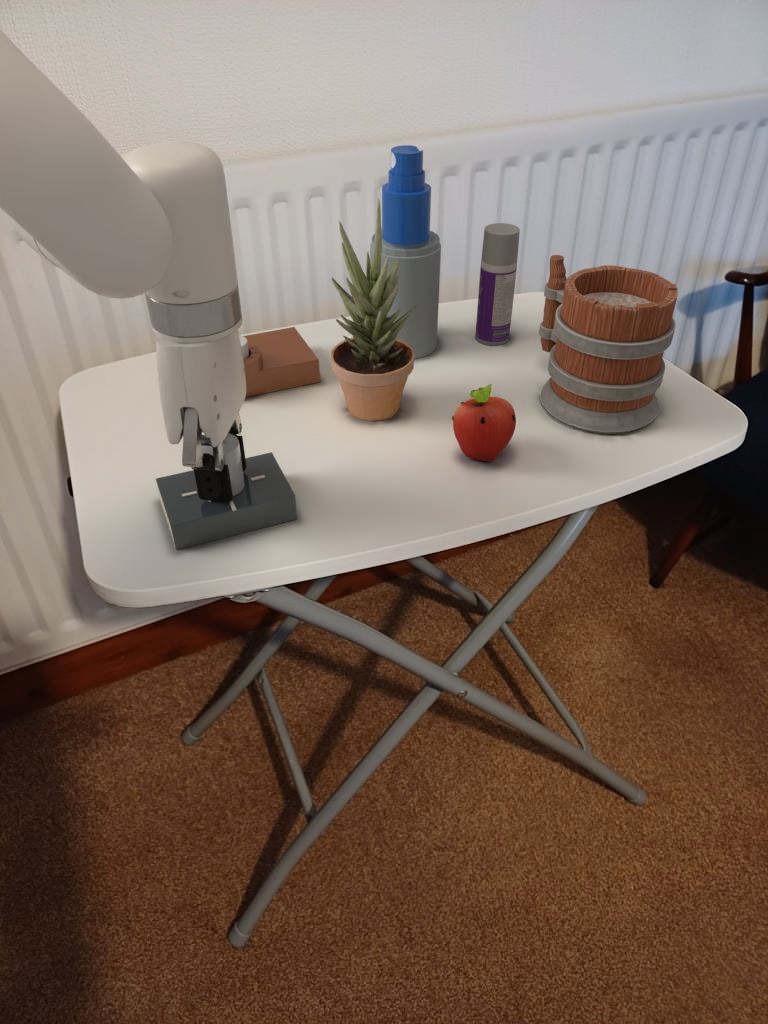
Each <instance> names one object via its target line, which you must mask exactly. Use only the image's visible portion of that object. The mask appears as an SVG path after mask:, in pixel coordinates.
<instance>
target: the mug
mask: <svg viewBox="0 0 768 1024" xmlns="http://www.w3.org/2000/svg"><path fill="white" fill-rule="evenodd" d="M564 260H565V256H563V255H561V254H553V255H551V256H550V258H549V276H548V281H547V282H546V283H545V284H544V289H543V296H544V297H545V299H544V307H543V317H542V318H543V319H542V321H541V322H540V323H539V328H538V336H539V337H540V345H541V350H542V351H543V352H546V353H549V359H548V365H547V371H548V375H549V376H550V377H549V378H548V379H547V381H546V382H545V383H544V385H543V386H542V388H541V390H540V393H539V398H540V402H541V404H542V406H543V408H544V409H545V410H546V411H547V412H548V413H549V414H550V415H551V416H552V417H553V418H554V419H556V420H558V421H559V422H560V423H562V424H565V425H567V426H568V427H571V428H575V429H578V430H579V431H584V432H589V433H594V434H595V433H596V434H607V435H608V434H609V435H610V434H613V435H614V434H624V433H625V434H626V433H630V432H634V431H636V430H639V429H641V428H644V427H645V426H647V425H649V424H650V423H652V422H653V421H654V420H655V419H656V418H657V416H658V415H659V412H660V402H659V400H658V397H657V394H656V392H657V391H658V389H660V388H661V385H662V383H663V379H664V375H665V372H666V371H665V370H666V362H665V361H664V359H663V358H664V354H665V351H667V350H668V348H669V347H671V345H672V342H673V338H674V334H675V330H676V321H675V318H674V317H673V316H674V313H675V312H674V311H675V308H676V305H677V300H678V296H679V291H678V289H679V288H678V286H677V284H676V283H672V282H671V281H669V279H666V278H665V277H664V276H661V275H659V274H657V273H654V272H651V271H649V270H643V269H638V268H632V267H625V266H619V265H609V264H607V265H604V264H603V265H600V266H595V267H594V266H593V267H589V268H584V269H580V270H578V271H576V272H574V273H572V274H571V275H569V276H568V277H567V276H566V275H567V269H566V266H565V261H564Z"/></svg>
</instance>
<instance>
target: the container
mask: <svg viewBox="0 0 768 1024" xmlns="http://www.w3.org/2000/svg"><path fill="white" fill-rule="evenodd" d="M520 230H521V229H520V227H518V226H517V225H515V224H512V223H505V222H495V223H490V224H487V225H485V227H484V230H483V240H482V251H481V258H480V259H481V260H480V270H479V281H478V294H477V295H478V296H477V309H476V324H475V336H474V337H475V340H476V341H477V342H479V343H481V344H482V345H487V346H500V345H501V346H502V345H505V344H506V343H508V342H509V340H510V335H511V326H512V317H513V309H514V308H513V306H514V297H515V288H516V279H517V270H518V258H519V257H518V256H519V247H520V246H519V245H520V234H521V233H520V232H521V231H520Z"/></svg>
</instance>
